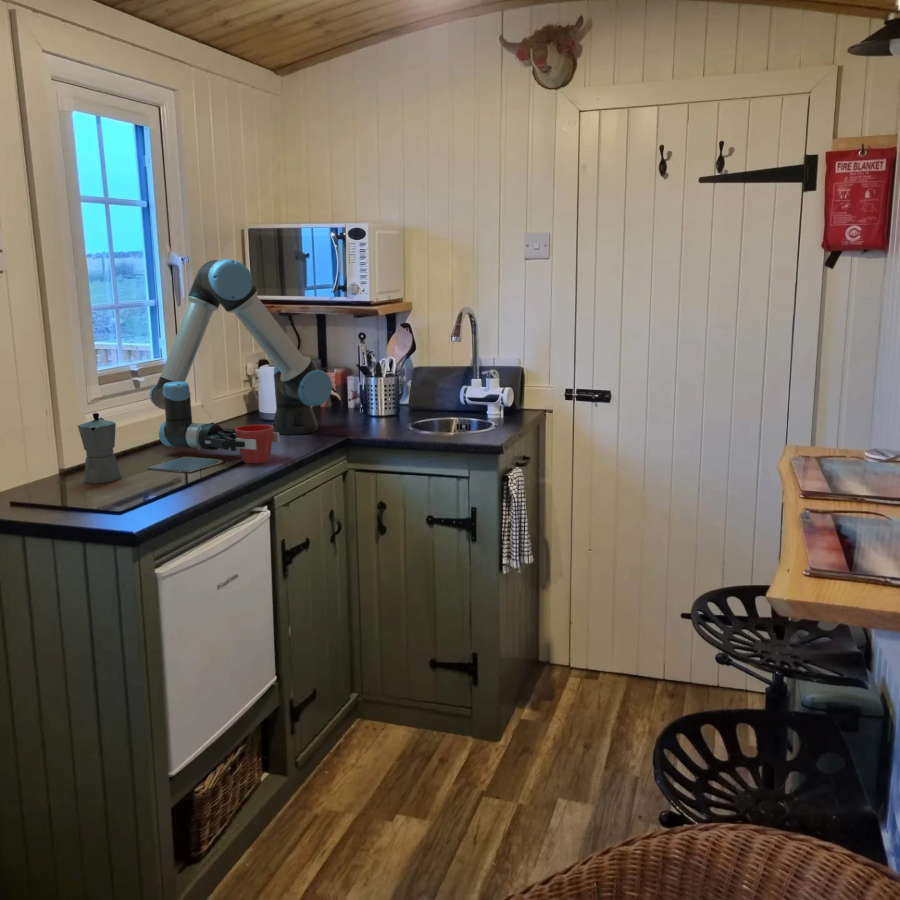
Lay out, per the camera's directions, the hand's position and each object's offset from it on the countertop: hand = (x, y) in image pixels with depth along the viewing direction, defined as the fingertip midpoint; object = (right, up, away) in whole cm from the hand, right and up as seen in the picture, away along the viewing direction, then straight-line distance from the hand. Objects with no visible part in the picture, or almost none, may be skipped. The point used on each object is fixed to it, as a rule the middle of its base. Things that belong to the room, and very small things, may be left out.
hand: (267, 441), depth 249 cm
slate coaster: (-22, -7, -1) cm, 23 cm away
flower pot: (-4, -6, +3) cm, 8 cm away
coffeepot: (-41, -10, -14) cm, 44 cm away
